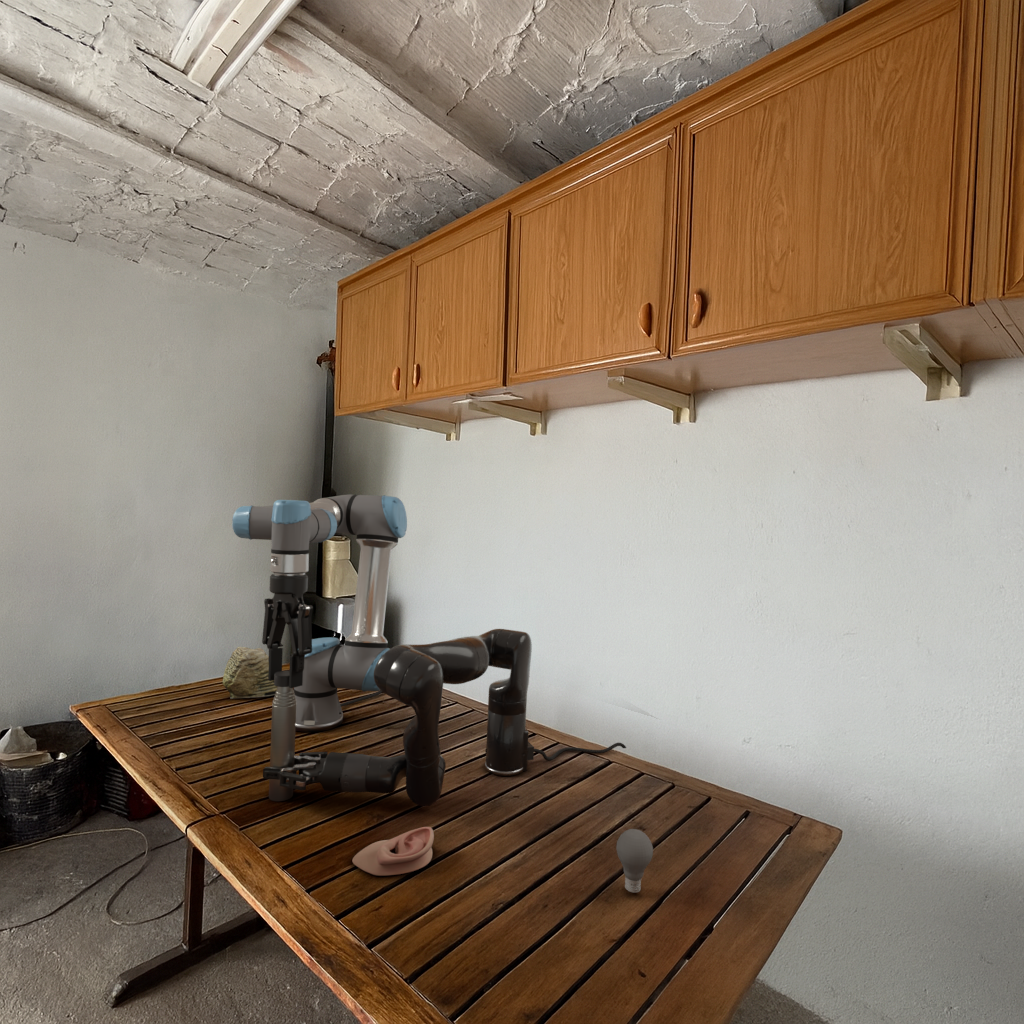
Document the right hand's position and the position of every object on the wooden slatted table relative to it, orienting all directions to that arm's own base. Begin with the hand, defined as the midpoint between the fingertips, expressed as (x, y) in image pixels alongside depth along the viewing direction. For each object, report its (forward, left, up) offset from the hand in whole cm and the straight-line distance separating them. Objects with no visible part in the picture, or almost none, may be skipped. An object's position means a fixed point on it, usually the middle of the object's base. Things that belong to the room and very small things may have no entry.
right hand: (269, 767), depth 133 cm
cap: (-2, +1, +20) cm, 20 cm away
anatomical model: (-20, +31, -6) cm, 38 cm away
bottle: (-2, +1, -6) cm, 7 cm away
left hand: (-2, +1, +18) cm, 18 cm away
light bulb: (-56, +52, -6) cm, 77 cm away
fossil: (+3, -71, -6) cm, 71 cm away
